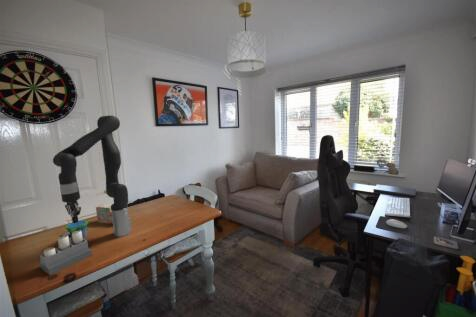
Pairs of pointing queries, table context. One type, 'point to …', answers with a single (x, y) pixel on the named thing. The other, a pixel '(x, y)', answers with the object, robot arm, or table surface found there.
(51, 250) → the knob
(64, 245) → the knob mid
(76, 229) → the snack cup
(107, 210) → the cereal box
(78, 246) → the grey compartment box
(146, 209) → the table surface
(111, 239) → the table surface
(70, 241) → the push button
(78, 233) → the knob
